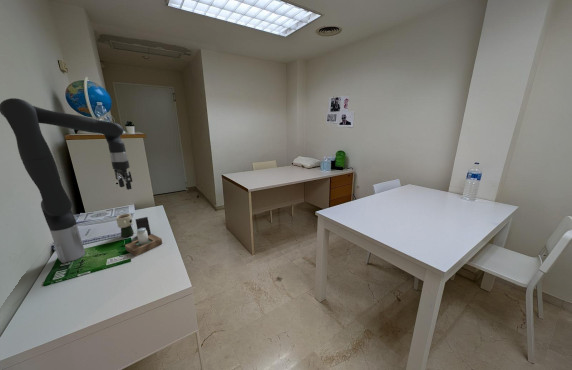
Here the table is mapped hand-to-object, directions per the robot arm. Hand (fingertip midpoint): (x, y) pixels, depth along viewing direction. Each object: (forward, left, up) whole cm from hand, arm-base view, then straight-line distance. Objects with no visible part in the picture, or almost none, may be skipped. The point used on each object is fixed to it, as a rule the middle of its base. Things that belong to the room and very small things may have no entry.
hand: (125, 188), depth 121 cm
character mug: (-3, +3, -30) cm, 31 cm away
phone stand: (+2, -7, -30) cm, 31 cm away
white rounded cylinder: (-4, -19, -28) cm, 34 cm away
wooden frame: (-4, -19, -30) cm, 36 cm away
